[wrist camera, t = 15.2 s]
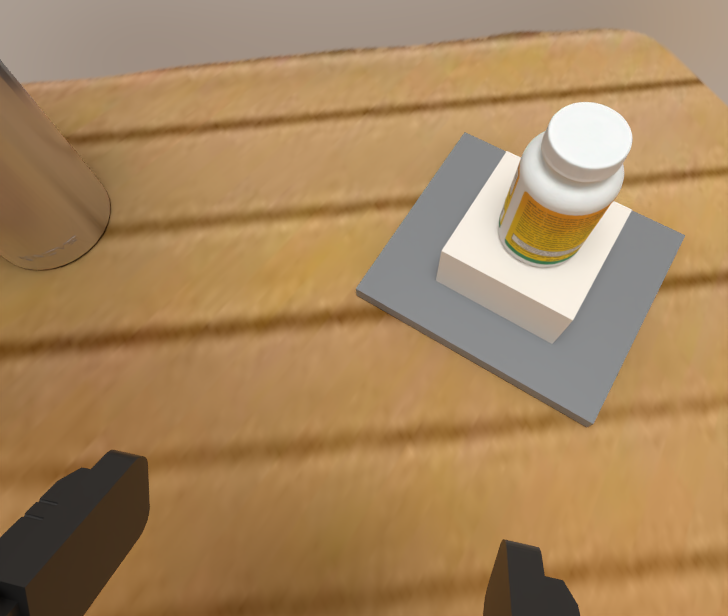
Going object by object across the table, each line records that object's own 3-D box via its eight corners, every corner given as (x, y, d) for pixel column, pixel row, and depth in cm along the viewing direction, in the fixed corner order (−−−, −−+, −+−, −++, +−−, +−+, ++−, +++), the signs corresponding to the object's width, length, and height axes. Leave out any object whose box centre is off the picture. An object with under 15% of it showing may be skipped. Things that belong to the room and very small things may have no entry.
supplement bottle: (486, 206, 37) (518, 100, 28) (564, 189, 37) (621, 79, 28) (512, 278, 34) (555, 189, 26) (594, 260, 35) (666, 166, 26)
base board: (356, 295, 41) (355, 288, 40) (462, 142, 45) (464, 132, 44) (587, 427, 37) (593, 423, 35) (677, 243, 41) (685, 235, 40)
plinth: (435, 280, 40) (441, 250, 35) (494, 188, 42) (506, 151, 38) (552, 344, 38) (572, 320, 33) (606, 243, 40) (632, 209, 36)
